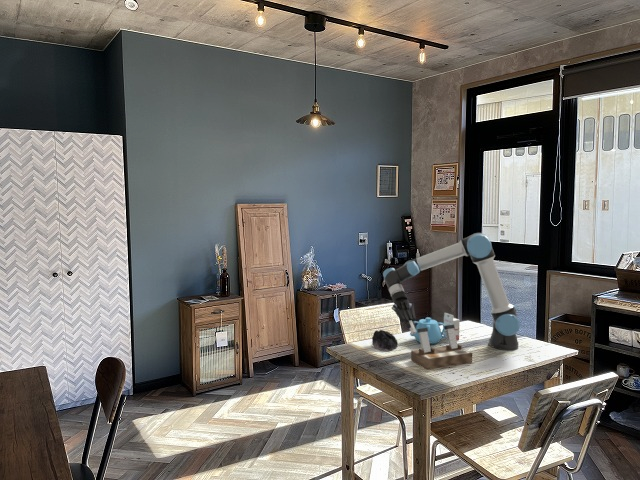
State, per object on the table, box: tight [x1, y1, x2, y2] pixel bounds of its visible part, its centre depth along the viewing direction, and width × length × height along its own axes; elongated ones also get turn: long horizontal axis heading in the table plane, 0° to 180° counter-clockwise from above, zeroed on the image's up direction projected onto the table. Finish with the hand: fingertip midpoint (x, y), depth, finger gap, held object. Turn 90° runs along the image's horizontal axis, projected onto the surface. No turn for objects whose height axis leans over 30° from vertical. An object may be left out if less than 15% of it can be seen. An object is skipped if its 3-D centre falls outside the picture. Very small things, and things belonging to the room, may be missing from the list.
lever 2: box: [444, 325, 458, 349], centre depth 244 cm, size 5×2×12 cm, turn 112°
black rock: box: [371, 329, 399, 352], centre depth 261 cm, size 13×14×10 cm
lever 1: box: [417, 328, 432, 352], centre depth 238 cm, size 5×2×12 cm, turn 112°
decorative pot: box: [409, 316, 446, 345], centre depth 272 cm, size 16×16×14 cm
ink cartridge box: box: [442, 312, 461, 341], centre depth 277 cm, size 9×5×15 cm, turn 25°
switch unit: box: [410, 343, 473, 371], centre depth 238 cm, size 26×14×7 cm, turn 112°
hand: (414, 332), depth 245 cm, fingers closed
